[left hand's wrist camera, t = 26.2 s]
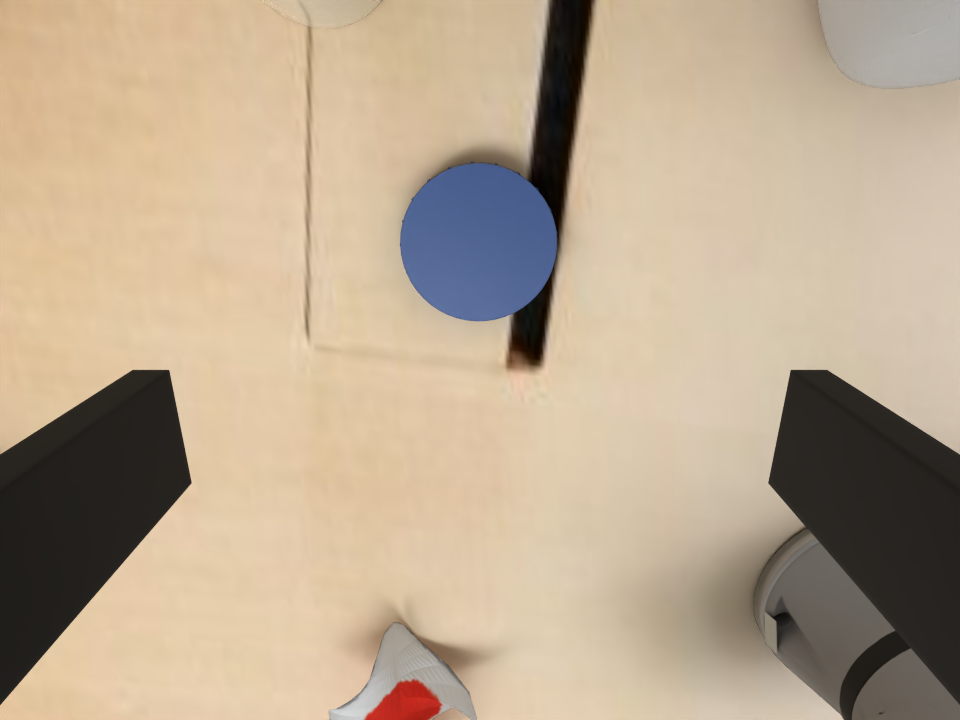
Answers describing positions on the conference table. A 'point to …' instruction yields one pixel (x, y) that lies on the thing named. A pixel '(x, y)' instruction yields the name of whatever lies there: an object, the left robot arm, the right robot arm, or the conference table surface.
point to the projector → (893, 40)
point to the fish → (406, 684)
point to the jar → (324, 11)
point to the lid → (478, 241)
